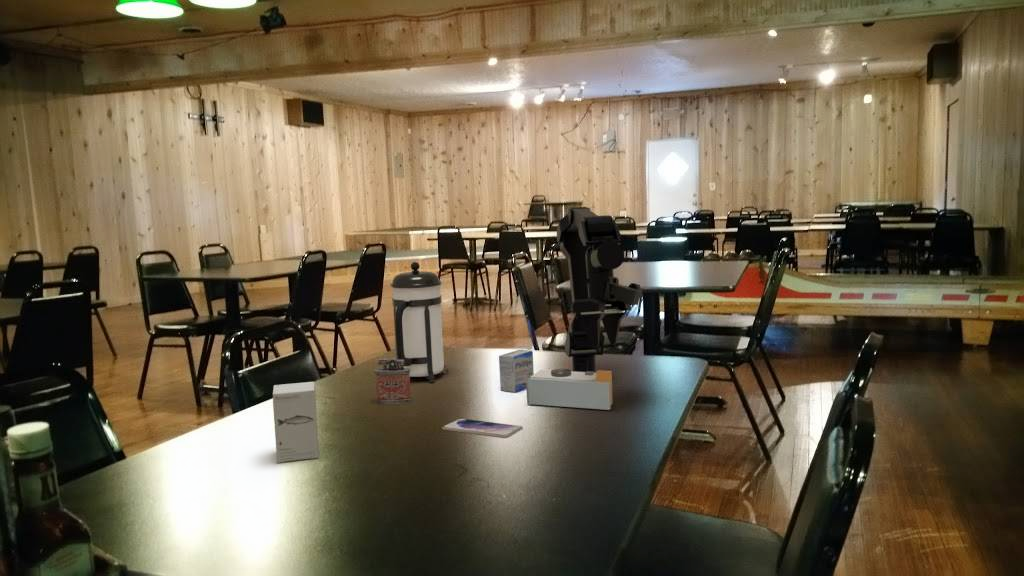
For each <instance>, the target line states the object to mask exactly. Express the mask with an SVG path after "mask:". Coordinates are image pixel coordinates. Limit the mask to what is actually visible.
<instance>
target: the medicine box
mask: <svg viewBox="0 0 1024 576" xmlns="http://www.w3.org/2000/svg"><path fill="white" fill-rule="evenodd" d="M533 353H534V351H532V350H529V349H517V350H514V351H511V352H506V353H504V354H500V355H499V356H498V365H499V367H498V368H499V383H500V385H499V386H500V391H501V392H502V391H503V392H508V393H514V394H515V393H518V392H521V391H524V390H527V385H526V378H530V377H531V376H532V375H534V374H535V373H534V354H533Z"/></svg>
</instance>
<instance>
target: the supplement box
mask: <svg viewBox="0 0 1024 576" xmlns="http://www.w3.org/2000/svg"><path fill="white" fill-rule="evenodd" d="M272 389H273V390H272V408H273V421H274V422H273V423H274V438H275V451H276V463H277V464H279V463H280V464H281V463H284V462H285V463H286V462H292V461H293V462H294V461H301V460H310V459H311V460H312V459H319V457H320V450H319V433H318V419H317V418H318V417H317V415H318V414H317V399H316V383H315V381H306V382H304V381H303V382H296V383H293V382H292V383H285V384H283V383H282V384H274V385H273V388H272Z"/></svg>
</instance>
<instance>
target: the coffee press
mask: <svg viewBox="0 0 1024 576" xmlns="http://www.w3.org/2000/svg"><path fill="white" fill-rule="evenodd" d="M410 268H411V271H408V272H407V271H406V272H402V273H401V272H400V273H398V274H396V275H395V276H394V277H393V279H392V281H391V283H390V287H391V289H392V298H391V299H392V300H391V301H392V307H393V322H394V323H393V324H394V341H395V358H396V359H397V360H404V368H410V373H409V375H410V378H413V377H415V378H417V377H419V378H422V377H424V378H426V379H427V380H426V381H427V383H428V384H431V383H435V381H436V377H435V375H437V374H439V373H441V374H443V375H447V374H449V369H448V368H447V367H446V365H445V361H444V359H445V358H444V340H443V319H442V318H443V317H442V300H443V299H442V295H441V285H442V281H441V280H440V278H439V275H437V274H436V273H434V272H432V271H423V270H422V271H420V270H419V269H420V263H419V262H416V261H413V262H412V263H410ZM399 366H400V365H399ZM443 369H445V371H444V372H443Z"/></svg>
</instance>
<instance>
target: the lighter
mask: <svg viewBox="0 0 1024 576" xmlns="http://www.w3.org/2000/svg"><path fill="white" fill-rule="evenodd" d="M376 364H377V366H382V368H376V369H374V374H375V381H376V383H375V384H376V403H377V404H382V405H393V404H397V405H399V404H408V403H412V401H413V398H412V393H411V377H410V375H409V373H410V368H404V360H397V359H396V357H392V358H391V359H388V358H378V359H377V361H376ZM399 365H400V366H399Z"/></svg>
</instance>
